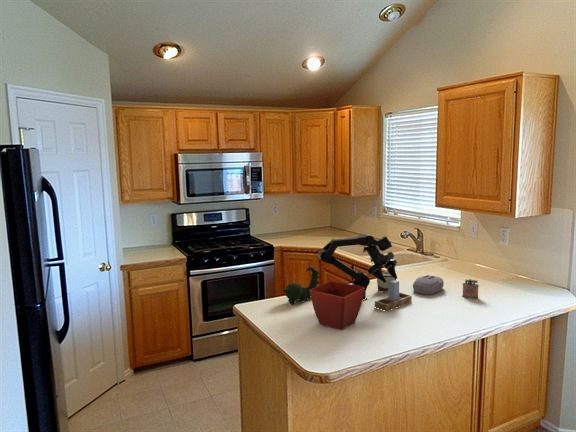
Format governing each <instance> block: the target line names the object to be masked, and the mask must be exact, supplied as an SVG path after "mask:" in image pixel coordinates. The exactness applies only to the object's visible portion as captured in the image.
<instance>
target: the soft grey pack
mask: <svg viewBox="0 0 576 432" xmlns="http://www.w3.org/2000/svg"><path fill="white" fill-rule="evenodd" d="M443 288H444V279H443V278H442V277H440V276H435V275H429V274H427V275H423V276H419V277H417V278H416V279H415V281H414V282H413V283H412V289H413V292H415V293H417V294H420V295H425V296H427V295H433V294H437V293H439V292H440V291H441V290H442V289H443Z"/></svg>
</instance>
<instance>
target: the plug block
mask: <svg viewBox="0 0 576 432" xmlns="http://www.w3.org/2000/svg"><path fill="white" fill-rule="evenodd" d="M399 292H400V281H399V280H397V279H396V280H390V281H388V292H387V297H388V299H389V300H392V301H397V300H399Z"/></svg>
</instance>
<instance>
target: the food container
mask: <svg viewBox="0 0 576 432" xmlns="http://www.w3.org/2000/svg"><path fill="white" fill-rule="evenodd" d="M382 274H383V276H384V278H385V280H386V282H385V283H384V282H383V281H381V280H380V279H378V278H377V277H376V285H377V291H388V281H390V280H396V281H397V279H395V278H393V277H392V275H391V274H390V273H389V272H388V271H385V272H384V271H382ZM396 276H397V277H398V274H396Z"/></svg>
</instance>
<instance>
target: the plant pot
mask: <svg viewBox="0 0 576 432" xmlns="http://www.w3.org/2000/svg"><path fill="white" fill-rule="evenodd" d="M364 289H365V287H361V286H356V285H353V284H352V283H345V282H340V281H334V280H331V281H327V282H325V283H323V284H320V285H317V287H315V288H313V289H310V295H311V296H310V297H311V300H310V301H311V305H312V307H313V308H312V309H314V310H313V311H314V314H315V316H316V318H317V322H318V323H320V325H322V324H323V326H326V325H327V327H329V326H330V328H332V329H337V330H344V329H345V328H348V327H349V326H351V325H353V324H354V323H355V322H356V321H357V318H358V316H359V314H360V309H361V307H362V303H363V301H364V300H363V295H364ZM362 300H363V301H362ZM352 323H353V324H352ZM347 326H348V327H347Z"/></svg>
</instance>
